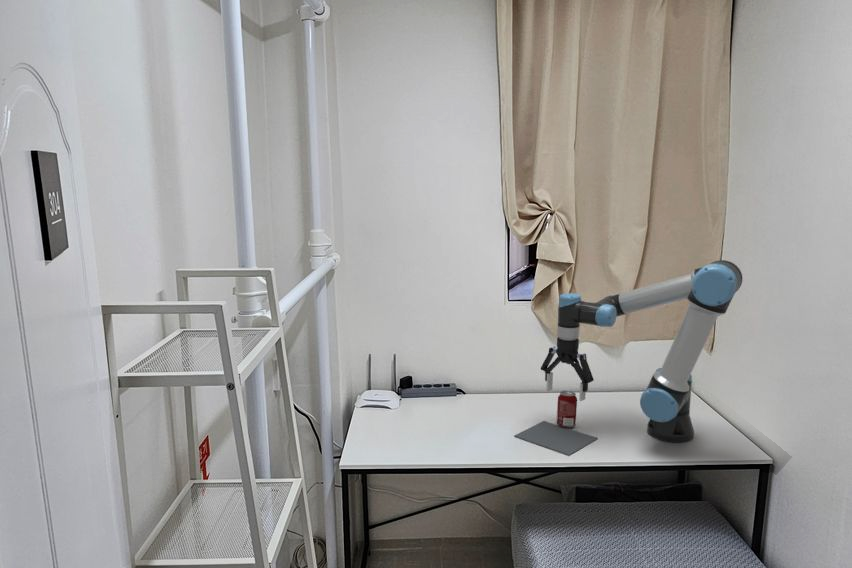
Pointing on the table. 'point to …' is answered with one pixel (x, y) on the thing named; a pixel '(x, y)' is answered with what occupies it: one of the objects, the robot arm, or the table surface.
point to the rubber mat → (556, 438)
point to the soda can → (566, 409)
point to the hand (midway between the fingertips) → (565, 395)
